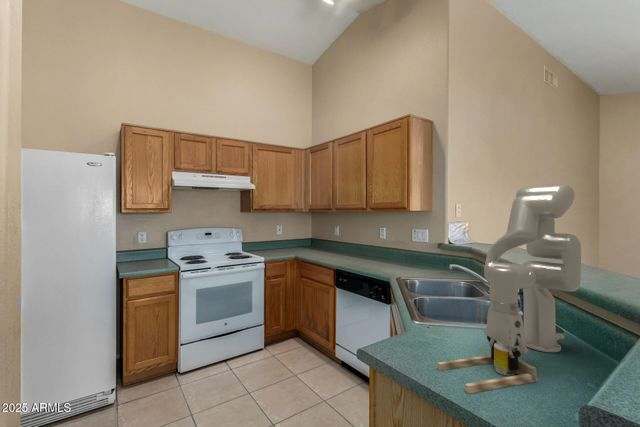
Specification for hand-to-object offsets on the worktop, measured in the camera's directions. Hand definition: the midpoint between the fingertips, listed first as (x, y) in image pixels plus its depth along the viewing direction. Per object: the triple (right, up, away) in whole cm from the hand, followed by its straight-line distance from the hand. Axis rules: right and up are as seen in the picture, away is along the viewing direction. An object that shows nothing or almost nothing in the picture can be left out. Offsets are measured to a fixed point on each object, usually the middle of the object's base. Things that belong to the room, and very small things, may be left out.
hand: (504, 363), depth 91 cm
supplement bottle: (0, -3, 0) cm, 3 cm away
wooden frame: (-7, -3, -2) cm, 8 cm away
